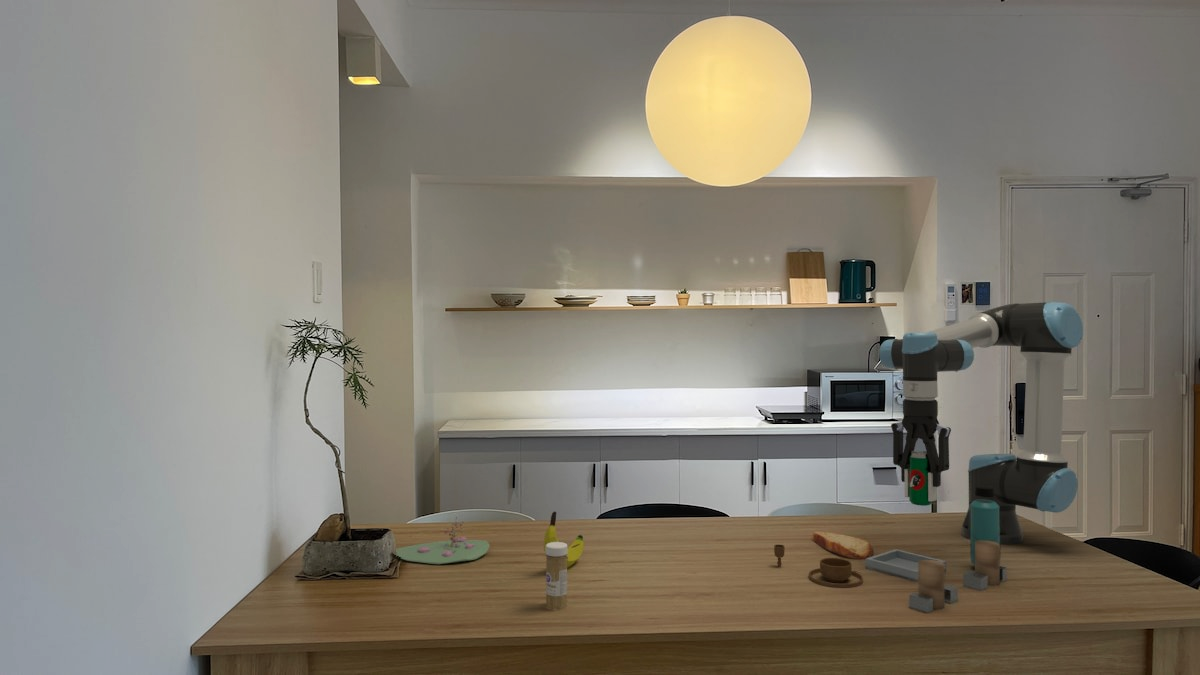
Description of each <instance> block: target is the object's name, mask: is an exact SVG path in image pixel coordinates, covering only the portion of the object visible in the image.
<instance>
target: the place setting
mask: <svg viewBox="0 0 1200 675" xmlns="http://www.w3.org/2000/svg"><path fill="white" fill-rule="evenodd" d="M773 546H774V548H773V549H774V550H773V552H774V557H776V558H777V562H776V563H777V567H778V568H781V567H782V565H783V564H782V558H783V557H784V556H785V545H783V544H775V545H773ZM852 564H853V563H852V562H851V561H849V560H847V559H844V558H839V557H838V558H837V557H825V558H824V557H823V558H822V559H820V560H819V568H815V569H812V570H810V571H809V572H808V578H809V580H810V581H811V582H813V583H814V584H818V585H821V586H824V587H828V588H829V587H830V588H836V589H837V588H839V589H840V588H841V589H849V588H856V587H859V586H861V585H863V582H864V576H862V575H861V574H863V573H862V572H859V571H857V570H852V569H853V568H852ZM817 574H821V576H822V577H824V579H826V580H827V581H824V580H820V579H817V578H815V577H813V576H814V575H817ZM851 576H852V577H854V578H857V580H859V581H856V582H848V583H843V582H845V581H847V580H848V579H850V578H851ZM828 581H829V582H828Z"/></svg>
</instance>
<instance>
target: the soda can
mask: <svg viewBox="0 0 1200 675" xmlns="http://www.w3.org/2000/svg"><path fill="white" fill-rule="evenodd" d="M930 471H931V467H930V463H929V459H928V455H927V451H926V450H914V451H911V454H910V456H909V497H908V498H909V499H908V501H909V502H910V503H911V504H912V505H915V506H921V507H923V506H931V505H932V503H933V502H934V501H932V502H931V501H928V473H929V472H930Z"/></svg>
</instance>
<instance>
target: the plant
mask: <svg viewBox="0 0 1200 675" xmlns="http://www.w3.org/2000/svg"><path fill="white" fill-rule="evenodd" d="M457 519H458V517H455V522H454V523H452V526H451V528H449V527H447V528H446V529H447V530H446V531H444V533H445V534H447V533H448V536H449V539H450V540H439V541H433V542H425V543H424V542H423V543H417V544H413V545H409V546H408V545H407V546H402V547H396V548H395V549H396V552H397V556H399V557H401V558H400V559H401V560H404V561H407V562H413V563H414V562H415V563H422V564H432V565H442V564H450V563H451V564H452V563H460V562H467V561H474V560H477V559H479V558H481V557H483V556H484V555H485V554H486V553H487V552H488V550H490V544H489V542H488V541H487V540H483V539H482V540H481V539H480V540H479V539H467V537H465V536H462V537H458V535H459V534H460V533H462V534H463V531H461V530H463V527H461V526H463V523H464V521H462V522H460V523H458V522H456V521H457ZM458 526H460V528H458ZM456 528H457V529H458V530H457V529H456ZM449 531H450V533H449ZM451 533H452V534H451ZM456 533H457V534H456ZM397 556H396V557H397ZM399 557H398V558H399Z"/></svg>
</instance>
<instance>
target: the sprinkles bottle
mask: <svg viewBox="0 0 1200 675" xmlns="http://www.w3.org/2000/svg"><path fill="white" fill-rule="evenodd" d="M544 553H545V556H546V561H545V562H546V565H545V568H546V573H545V574H546V575H545V594H546V596H545V597H546V598H545V601H546V602H545V609H547V610H548V611H552V612H554V611H557V612H559V611H563V610H566V609H567V608H568V604H567V602H568V601H567V600H568V597H567V596H568V595H567V594H568V568H567V553H568V544H567V543H565V542H561V541H559V542H551V543H548V544H546V548H545V551H544Z"/></svg>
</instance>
